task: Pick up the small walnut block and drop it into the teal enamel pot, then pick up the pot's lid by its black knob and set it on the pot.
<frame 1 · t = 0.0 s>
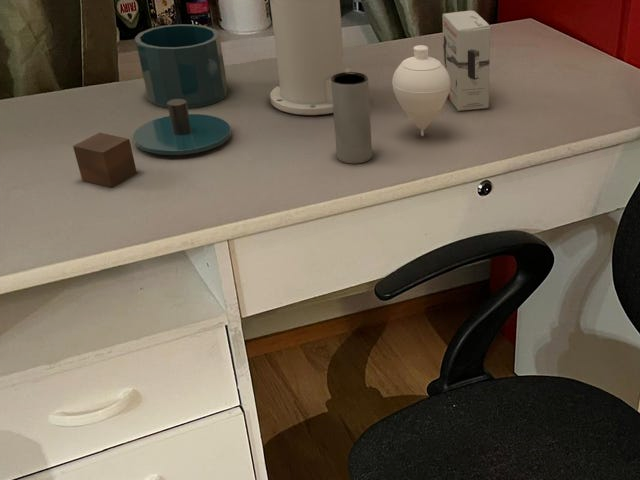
block: (110, 177, 105), on the table
pot: (188, 94, 128), on the table
ink box: (465, 101, 129), on the table
spinning top: (422, 137, 118), on the table
gray cylinder: (354, 158, 112), on the table
lid: (183, 135, 115), point 1 cm above the table
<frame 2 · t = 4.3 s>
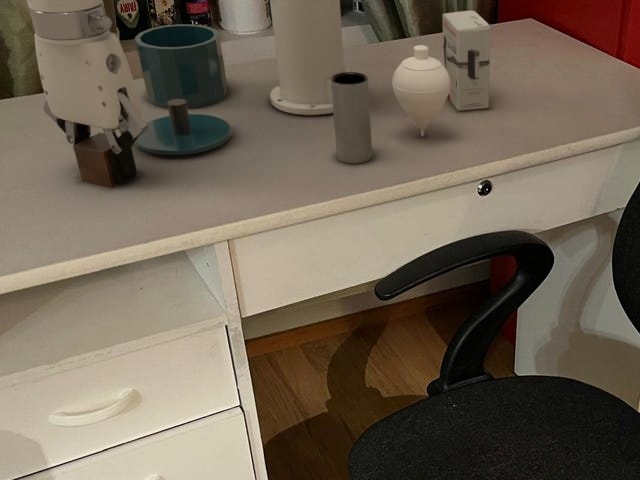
hand: (109, 174, 105), 0 cm above the table, tool pointing down, fingers closed on block, 4 cm apart
block: (110, 177, 105), on the table, touching gripper
everything else where it was.
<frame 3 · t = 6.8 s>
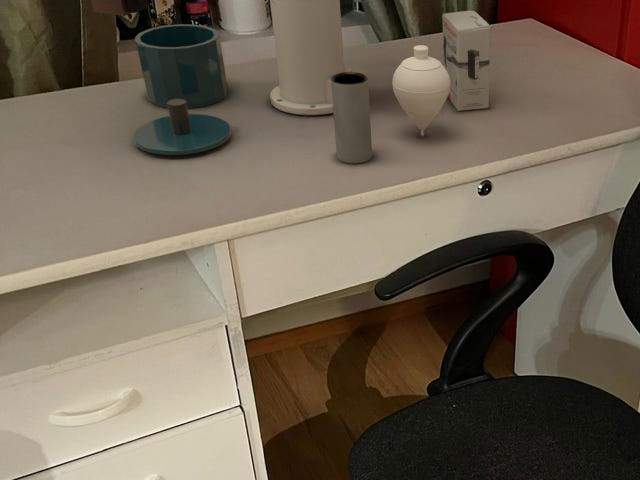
hand: (120, 5, 105), 17 cm above the table, tool pointing down, fingers closed on block, 4 cm apart
block: (121, 9, 105), point 17 cm above the table, touching gripper
everything else where it was.
when the fingers open (13 cm above the table, at t = 9.6 s): block drops 12 cm, resting on pot.
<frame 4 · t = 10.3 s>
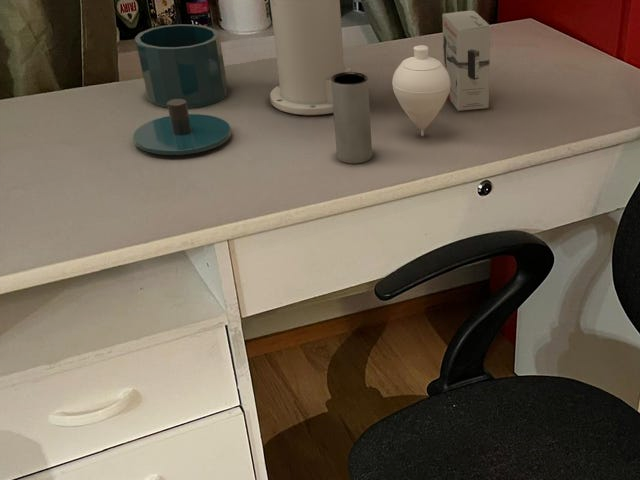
block: (187, 91, 128), resting on pot
everything else where it was.
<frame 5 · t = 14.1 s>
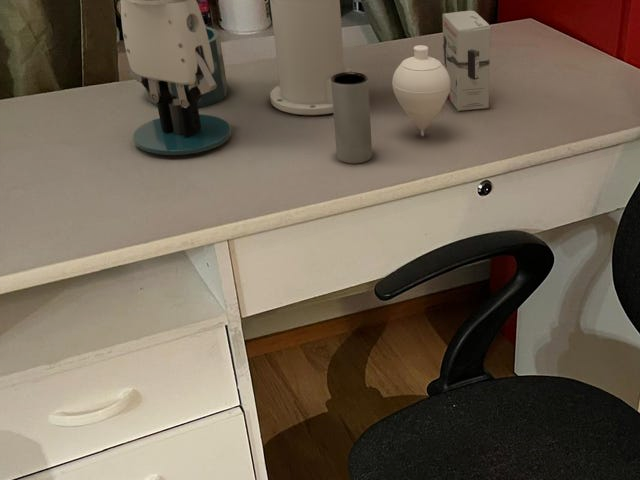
hand: (182, 130, 114), 1 cm above the table, tool pointing down, fingers closed on lid, 2 cm apart
lid: (183, 135, 115), point 1 cm above the table, touching gripper
everything else where it was.
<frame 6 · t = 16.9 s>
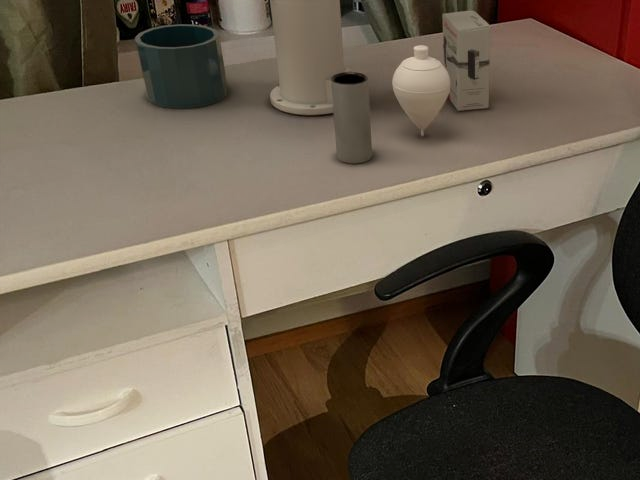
when the fingers open (9 cm above the table, at t = 20.1 s): lid stays where it is, resting on pot.
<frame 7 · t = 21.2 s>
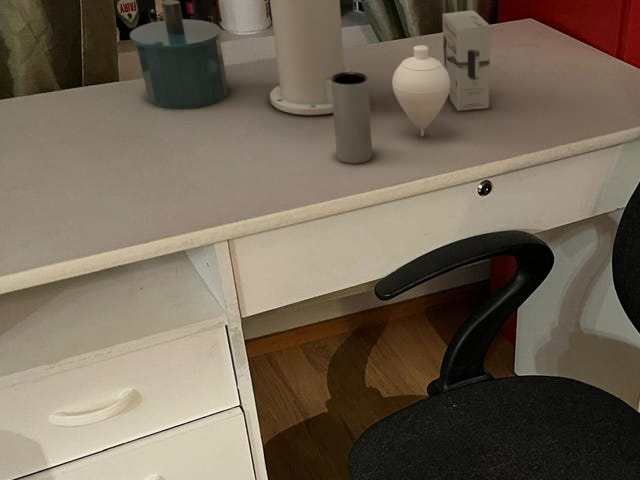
hand: (175, 13, 121), 12 cm above the table, tool pointing down, fingers open, 9 cm apart
lid: (176, 36, 123), point 8 cm above the table, touching pot
everything else where it was.
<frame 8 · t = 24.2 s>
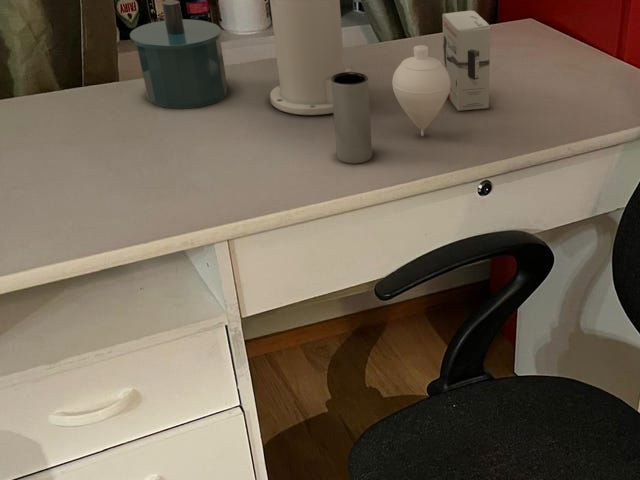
nothing on the table moved.
at the end: block inside the target area in the pot (0.0 cm from its centre), point 0.5 cm above the pot's base; lid 0.1 cm off-centre on the pot, point 8.5 cm above the pot's base; lid tilted 0° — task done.
